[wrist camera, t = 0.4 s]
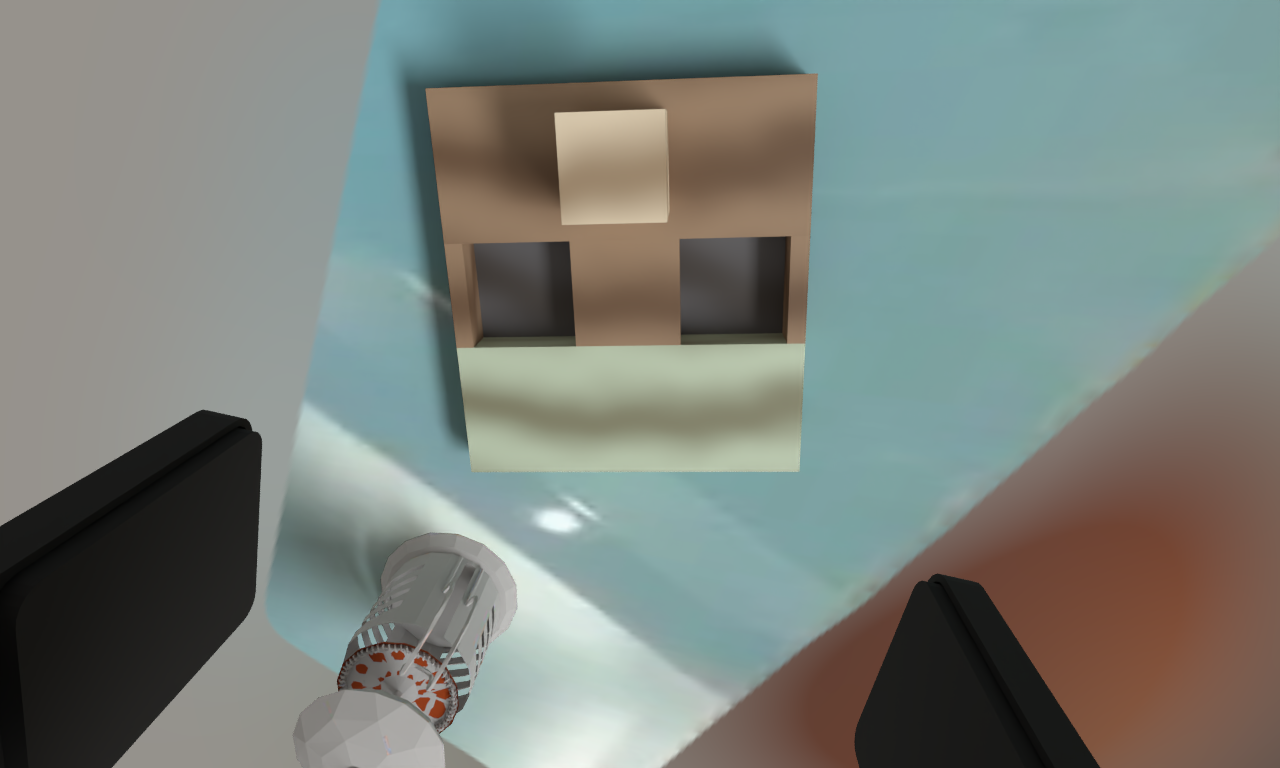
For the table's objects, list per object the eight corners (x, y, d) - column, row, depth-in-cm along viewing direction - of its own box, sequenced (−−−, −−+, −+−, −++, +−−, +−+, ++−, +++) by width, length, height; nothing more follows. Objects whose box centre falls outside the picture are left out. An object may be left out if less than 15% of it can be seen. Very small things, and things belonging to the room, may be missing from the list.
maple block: (570, 114, 37) (554, 112, 33) (667, 110, 37) (665, 108, 32) (576, 213, 39) (561, 225, 34) (669, 210, 39) (666, 222, 34)
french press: (356, 604, 52) (82, 1002, 28) (434, 487, 48) (194, 831, 25) (474, 672, 53) (306, 1104, 30) (558, 563, 50) (443, 957, 26)
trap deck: (440, 90, 40) (425, 88, 37) (809, 76, 38) (817, 73, 36) (482, 454, 47) (471, 472, 45) (793, 453, 46) (799, 471, 43)
